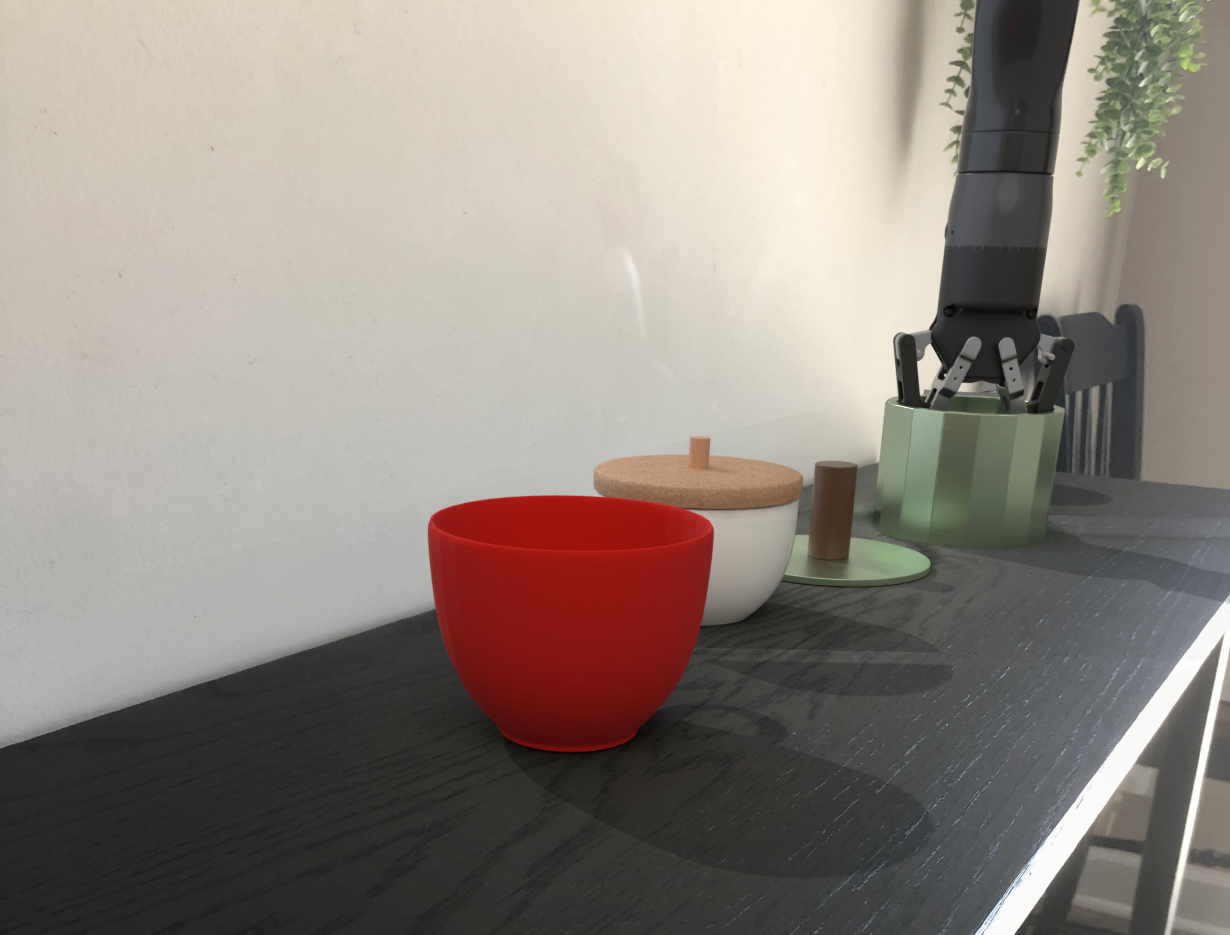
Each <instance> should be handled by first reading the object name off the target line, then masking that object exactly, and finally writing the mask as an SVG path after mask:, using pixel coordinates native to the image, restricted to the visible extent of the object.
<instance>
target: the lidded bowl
mask: <svg viewBox="0 0 1230 935" xmlns="http://www.w3.org/2000/svg"><path fill="white" fill-rule="evenodd" d="M688 449H689V451H688V452H689V453H688V454H648V455H647V454H645V455H643V454H642V455H633V456H625V457H619V458H618V457H617V458H614V459H610V460H606V461H603V462H600V463H599V464H597V466H596V467H594V469H593V489H594V490H595V496H598V497H612V498H623V499H633V500H640V501H647V502H654V503H659V504H664V505H670V506H674V507H678V508H682V509H685V510H689V511H692V512H694V513H697V514H699V515H702V516H703V517H705V518H706V519H708V520H709V521H710V522H711V524H712V526H713V528H714V543H713V554H712V562H711V571H710V578H709V585H708V591H707V597H706V603H705V608H704V614H703V618H702V622H701V626H720V625H727V624H733V623H736V622H741V621H743V620H745V619H747V618H749V616H751V615H752V614H753V613H755V612H756V611H757V610H759V608H761V606H763V605H764V604H765V603H766V602H767V601H768V600H769V599H770V598H771V597H772V595H773V594H774V592H775V591H776V590H777V588H778V587H779V585H780V584H781V582H782V581H781V580H782V578H783V576H784V574H785V572H786V569H787V566H788V563H789V560H790V557H791V554H792V549H793V545H794V540H795V535H797V528H798V527H797V526H798V518H799V510H800V509H799V508H800V499H801V497H802V495H803V488H804V477H803V474H802V473H801V472H799V471H798V470H796V469H795V468H792V467H790V466H786V465H783V464H779V463H775V462H770V461H765V460H758V459H753V458H746V457H745V458H743V457H735V456H725V455H724V456H722V455H711V454H710V452H711V451H710V449H711V437H710V436H706V435H694V436H693V435H691V436H690V437H689V448H688Z"/></svg>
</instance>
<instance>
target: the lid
mask: <svg viewBox="0 0 1230 935" xmlns="http://www.w3.org/2000/svg"><path fill="white" fill-rule="evenodd" d="M858 470H859V464H857V463H855V462H851V461H843V460H820V461H816V462H815V463H814V470H813V481H812V482H813V483H812V492H811V493H812V494H811V495H812V496H811V504H810V505H811V506H810V518H809V528H808V534H796V535H795V540H794V545H793V549H792V554H791V557H790V560H789V563H788V566H787V569H786V572H785V574H784V576H783V578H782V580H781V582H788V583H796V584H803V585H814V586H825V587H844V588H845V587H851V588H853V587H855V588H857V587H858V588H861V587H881V586H892V585H900V584H906V583H910V582H914V581H917V580H920V579H922V578H924V577H926V576H927V575H928V574H929V573H930V571H931V567H932V566H931V565H932V563H931V560H930V559H929V558H928V557H927V556H926V555H925V554H922V553H921V552H919V551H916V550H914V549H912V548H908V547H905V546H903V545H898V544H894V543H890V542H884V541H881V540H880V541H879V540H873V539H867V538H860V537H859V538H858V537H852V531H853V530H852V529H853V520H854V509H855V500H856V499H855V498H856V488H857V479H858Z"/></svg>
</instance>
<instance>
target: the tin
mask: <svg viewBox="0 0 1230 935" xmlns="http://www.w3.org/2000/svg"><path fill="white" fill-rule="evenodd" d="M927 396H928V395H923V394H920V400H922V401H924V402H925V400H926V398H927ZM1029 400H1030V399H1029ZM1029 400H1028V399H1027V400H1026V399H1025V402H1028V401H1029ZM884 401H885V402H884V410H883V421H882V431H881V440H880V450H879V460H878V468H877V479H876V487H875V488H876V489H875V498H874V505H873V506H874V507H873V517H872V527H873V528H875V530H876V531H877V532H878V533H880V534H883V535H886V536H889V537H892V538H895V539H897V540H902V541H907V542H911V543H912V542H913V543H918V544H923V545H929V546H937V547H946V548H947V547H948V548H957V549H978V550H979V549H981V550H983V549H985V550H986V549H987V550H992V549H993V550H1002V549H1017V548H1027V547H1031V546H1034V545H1037V544H1041V543H1043V541H1044V540H1045V537H1046V534H1047V528H1048V521H1049V515H1050V509H1051V502H1052V495H1053V489H1054V484H1055V483H1054V482H1055V476H1056V470H1057V464H1058V458H1059V452H1060V444H1061V438H1062V432H1063V425H1064V419H1065V412H1066V409H1065V407H1061V406H1058V405H1056V404H1054V407H1053V410H1052V411H1051V412H1044V413H1033V414H1004V412H1003V408H1002V404H1001V399H1000V397H986V396H971V395H969V396H968V395H955V396H954V397H953V398H952V399H951V401H950V403H949V405H948V407H947V409H946V411H943V410H935V409H926V408H918V407H913V406H908V405H903V404H900V403H899V400H898V395H896V396H891V397H889V398H888V399H886V400H884Z"/></svg>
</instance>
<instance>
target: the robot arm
mask: <svg viewBox="0 0 1230 935" xmlns="http://www.w3.org/2000/svg"><path fill="white" fill-rule="evenodd" d="M1080 1H1081V0H975V5H974V6H975V7H974V8H975V9H974V18H973V19H974V20H973V34H972V47H971V62H970V63H971V65H970V81H969V82H970V84H969V91H968V96H967V98H966V99H967V100H966V103H965V108H964V113H963V119H962V123H961V129H960V130H961V131H960V138H959V145H958V155H957V163H956V164H957V165H956V175H955V180H954V185H953V190H952V193H951V194H952V195H951V198H950V202H949V207H948V214H947V221H946V224H945V227H944V235H943V236H944V248H943V257H942V264H941V273H940V283H939V292H938V300H937V309H936V315H935V317H934V319H933V321H932V322H931V324H930V326H929V327H928V329H927V330H921V331H916V332H911V333H907V332H897V333H896V334H894V336H893V338H892V344H893V345H892V346H893V356H894V367H895V378H896V389H897V396H898V400H899V403H900V404H903V405H908V406H913V407H918V408H926V409H935V410H943V411H946V409H947V407H948V405H949V403H950V401H951V399H952V398H953V397H954V396H955V395H956V393H957V392H959V389H960V388H961V385H962V384H974V383H978V382H984V383H991V384H995V386H996V390H997V392H998V394H999V396H1000V399H1001V404H1002V408H1003V412H1004V414H1033V413H1044V412H1051V411H1052V410H1053V407H1054V405H1056V401H1057V398H1058V395H1059V393H1060V390H1061V388H1062V384H1063V381H1064V378H1065V376H1066V373H1067V370H1068V366H1069V364H1070V362H1071V359H1072V356H1073V353H1074V350H1075V343H1074V341H1073V340H1072V339H1070V338H1068V337H1064V336H1052V335H1048V334H1045V333H1042V331H1041V328H1040V325H1039V322H1038V312H1039V308H1040V301H1041V300H1040V299H1041V295H1042V288H1043V287H1042V286H1043V280H1044V274H1045V273H1044V272H1045V265H1046V260H1047V252H1048V251H1047V250H1048V243H1049V238H1050V231H1051V222H1052V217H1053V204H1054V195H1053V194H1054V175H1055V171H1056V165H1057V164H1056V163H1057V157H1058V156H1057V155H1058V149H1059V144H1060V143H1059V141H1060V134H1061V127H1062V126H1061V125H1062V113H1063V112H1062V111H1063V89H1064V83H1065V78H1066V74H1067V69H1068V65H1069V59H1070V55H1071V49H1072V44H1073V40H1074V34H1075V29H1076V24H1077V19H1078V12H1079V7H1080ZM929 345H930V346H931V348H932V349H933V351H934V353H935V354H936V356H937V358H938V360H939V362H940V366H939V368H938V370H937V372H936V374H935V376H934V378H933V380H932V382H931V385H930V389H929V390H930V392H929V394H928V396H927V398H926V400H925V402H924V401H922V400H920V395H921V390H920V379H919V377H920V376H919V368H918V366H919V365H918V362H920V361H922V360H923V359H924V357H925V352H926V348H928V347H927V346H929ZM1035 349H1037V351H1038V352H1037V353H1038V354H1037V360H1038V362H1039V363H1041V366H1040V368H1039V371H1038V374H1037V378H1036V380H1035V382H1034V387H1033V388H1032V392H1031V394H1030V398H1029V401H1028V402H1025V400H1026V398H1025V386H1024V381H1023V377H1022V374H1021V370H1020V366H1022V364H1023V363H1024V362H1025V361H1026V359H1028V357H1029V356H1030V355H1031V353H1032V352H1033V351H1035Z"/></svg>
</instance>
